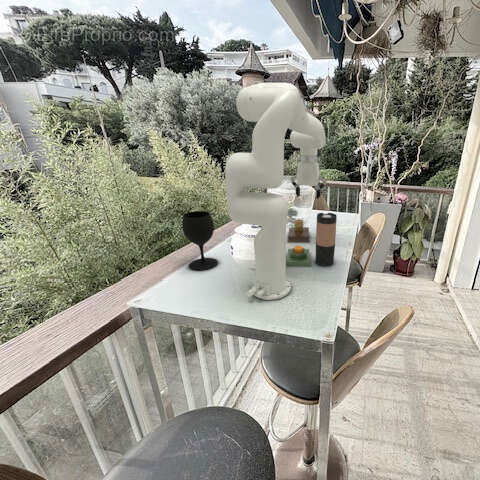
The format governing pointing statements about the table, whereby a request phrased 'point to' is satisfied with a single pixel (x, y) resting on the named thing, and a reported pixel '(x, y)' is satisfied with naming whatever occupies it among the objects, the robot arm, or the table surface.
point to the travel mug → (325, 239)
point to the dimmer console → (298, 235)
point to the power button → (298, 249)
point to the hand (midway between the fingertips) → (308, 197)
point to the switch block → (298, 258)
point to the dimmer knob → (298, 225)
